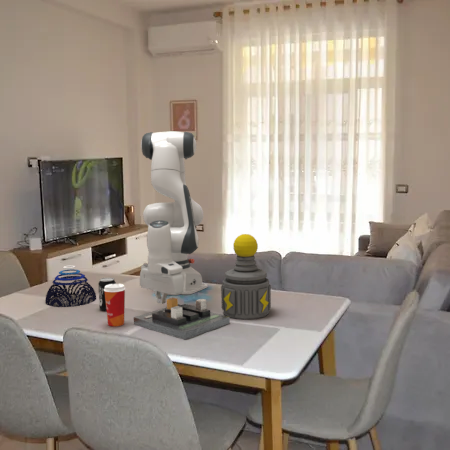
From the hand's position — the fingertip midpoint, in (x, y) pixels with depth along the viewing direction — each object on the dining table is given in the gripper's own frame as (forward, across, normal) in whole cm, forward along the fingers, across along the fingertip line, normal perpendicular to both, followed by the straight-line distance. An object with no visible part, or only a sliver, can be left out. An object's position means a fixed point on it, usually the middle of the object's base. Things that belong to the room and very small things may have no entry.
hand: (161, 303), depth 205 cm
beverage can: (+6, -26, -5) cm, 27 cm away
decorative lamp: (+6, +19, +25) cm, 32 cm away
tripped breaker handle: (+1, +6, 0) cm, 6 cm away
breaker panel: (+6, +10, 0) cm, 12 cm away
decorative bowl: (+6, -49, -7) cm, 50 cm away
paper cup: (+6, -8, -15) cm, 18 cm away
